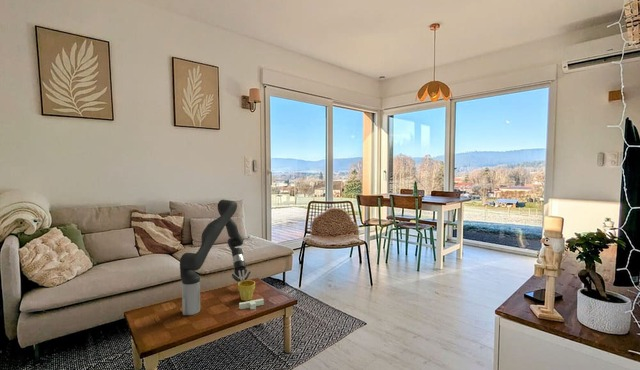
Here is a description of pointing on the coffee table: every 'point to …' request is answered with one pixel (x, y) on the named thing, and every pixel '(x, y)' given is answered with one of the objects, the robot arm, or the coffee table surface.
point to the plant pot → (246, 289)
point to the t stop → (251, 304)
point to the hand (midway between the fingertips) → (243, 286)
